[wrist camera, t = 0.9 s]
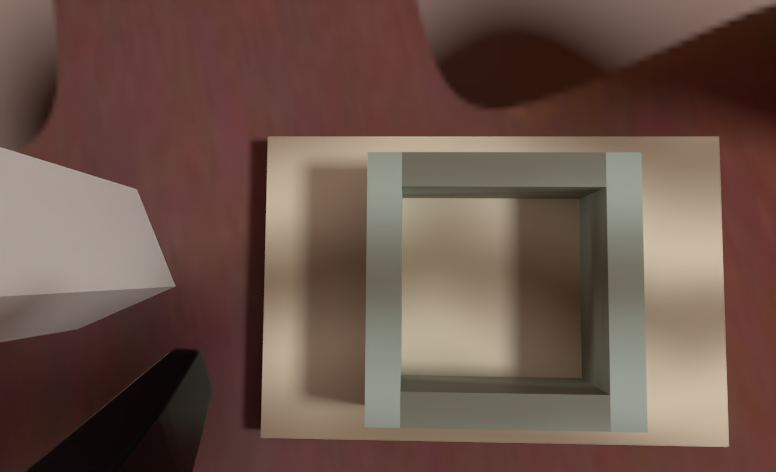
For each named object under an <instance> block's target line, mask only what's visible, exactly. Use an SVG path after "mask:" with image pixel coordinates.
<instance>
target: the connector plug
mask: <svg viewBox="0 0 776 472" xmlns="http://www.w3.org/2000/svg"><path fill="white" fill-rule="evenodd" d="M173 287H175V284H174V281H173V279H172V276H171V274H170V271H169V269H168V266H167V264H166V261H165V259H164V256H163V254H162V251H161V249H160V246H159V244H158V241H157V239H156V236H155V234H154V231H153V229H152V226H151V224H150V221H149V219H148V216H147V214H146V211H145V209H144V206H143V204H142V201H141V199H140V196H139V194H138V191H137V189H134V188H131V187H127V186H124V185H121V184H118V183H114V182H111V181H108V180H105V179H101V178H98V177H95V176H92V175H89V174H85V173H82V172H79V171H76V170H72V169H69V168H66V167H63V166H59V165H56V164H53V163H50V162H46V161H43V160H40V159H37V158H33V157H30V156H27V155H24V154H20V153H17V152H14V151H11V150H7V149H4V148H1V147H0V342H5V341H11V340H17V339H23V338H29V337H34V336H40V335H46V334H52V333H58V332H64V331H70V330H76V329H79V328H82V327H84V326H86V325H89V324H91V323H93V322H95V321H98V320H100V319H102V318H105V317H107V316H109V315H111V314H114V313H116V312H118V311H121V310H123V309H125V308H127V307H130V306H132V305H134V304H137V303H139V302H141V301H143V300H146V299H148V298H150V297H153V296H155V295H157V294H159V293H162V292H164V291H166V290H169V289H171V288H173Z"/></svg>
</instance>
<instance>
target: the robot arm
mask: <svg viewBox="0 0 776 472" xmlns="http://www.w3.org/2000/svg"><path fill="white" fill-rule="evenodd" d="M210 399H211V382H210V378H209V374H208V370H207V366H206V362H205V358H204V355H203V353H202V352H201V351H200V350H198V349H183V348H176V349H173V350H171V351H170V352H168V353H167V354H166V355H165V356H164V357H162V358H161V359H160V360H159V361H158V362H156V363H155V364H154V365H153V366H152V367H150V368H149V369H148V370H147V371H145V372H144V373H143V374H142V375H141V376H139V377H138V378H137V379H136V380H135V381H133V382H132V383H131V384H130V385H128V386H127V387H126V388H125V389H124V390H122V391H121V392H120V393H119V394H118V395H116V396H115V397H114V398H113V399H112V400H110V401H109V402H108V403H107V404H105V405H104V406H103V407H102V408H101V409H99V410H98V411H97V412H96V413H95V414H93V415H92V416H91V417H90V418H89V419H87V420H86V421H85V422H84V423H82V424H81V425H80V426H79V427H78V428H76V429H75V430H74V431H73V432H72V433H70V434H69V435H68V436H67V437H66V438H64V439H63V440H62V441H61V442H59V443H58V444H57V445H56V446H55V447H53V448H52V449H51V450H50V451H49V452H47V453H46V454H45V455H44V456H42V457H41V458H40V459H39V460H38V461H36V462H35V463H34V464H33V465H32V466H30V467H29V468H28V469H27V470H26V471H24V472H192V471H193V467H194V463H195V459H196V455H197V451H198V447H199V443H200V440H201V436H202V432H203V428H204V424H205V420H206V416H207V412H208V408H209V404H210Z"/></svg>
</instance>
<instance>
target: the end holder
mask: <svg viewBox="0 0 776 472" xmlns="http://www.w3.org/2000/svg"><path fill="white" fill-rule="evenodd" d="M261 438H295V439H347V440H398V441H450V442H501V443H553V444H604V445H656V446H707V447H729V434H728V403H727V371H726V340H725V308H724V277H723V246H722V214H721V183H720V151H719V137H268V151H267V193H266V236H265V278H264V321H263V363H262V406H261Z"/></svg>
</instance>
